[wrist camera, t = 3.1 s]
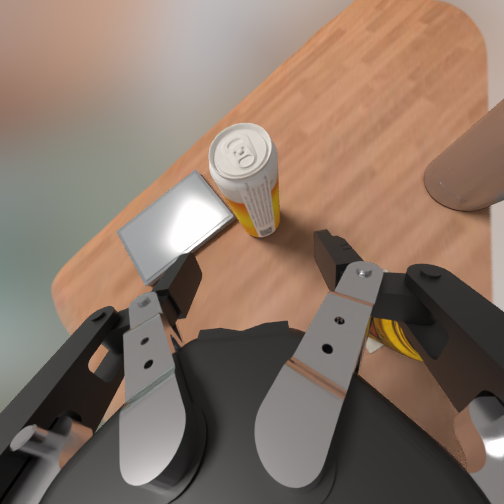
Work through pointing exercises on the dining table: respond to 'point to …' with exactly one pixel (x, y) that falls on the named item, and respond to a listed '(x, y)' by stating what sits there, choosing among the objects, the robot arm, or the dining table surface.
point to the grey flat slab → (174, 226)
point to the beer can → (248, 176)
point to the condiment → (390, 338)
